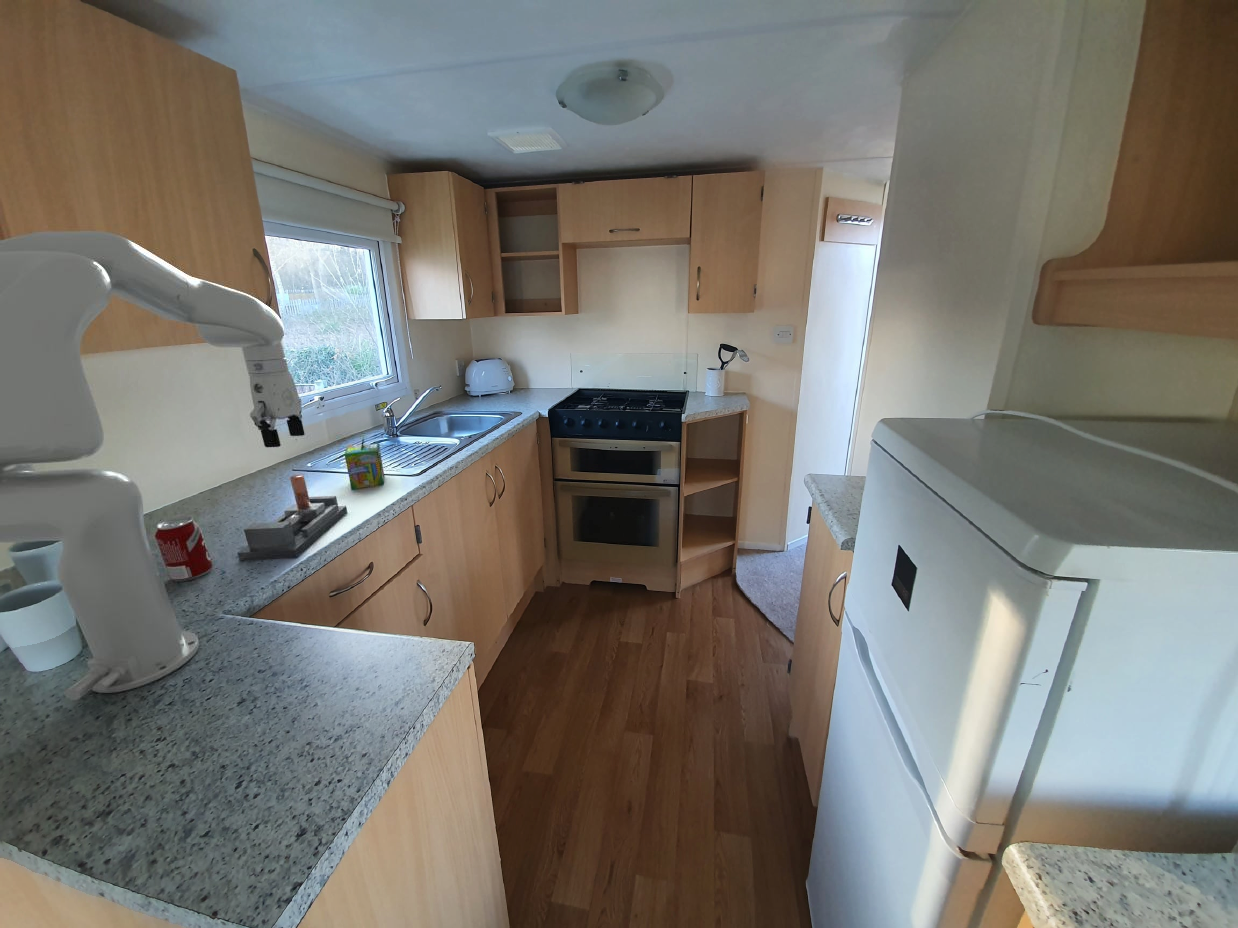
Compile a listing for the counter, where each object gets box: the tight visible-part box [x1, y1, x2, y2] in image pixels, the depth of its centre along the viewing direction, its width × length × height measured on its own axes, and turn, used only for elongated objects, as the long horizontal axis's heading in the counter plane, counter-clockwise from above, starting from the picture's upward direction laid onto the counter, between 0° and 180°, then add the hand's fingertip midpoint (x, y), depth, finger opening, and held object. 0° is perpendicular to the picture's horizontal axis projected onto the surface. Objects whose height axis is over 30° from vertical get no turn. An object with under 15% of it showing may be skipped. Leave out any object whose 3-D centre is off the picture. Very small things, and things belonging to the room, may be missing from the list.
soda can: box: [154, 516, 213, 582], centre depth 98 cm, size 7×7×12 cm
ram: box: [283, 474, 325, 528], centre depth 115 cm, size 10×7×11 cm
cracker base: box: [237, 495, 348, 562], centre depth 115 cm, size 24×12×7 cm, turn 4°
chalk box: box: [344, 435, 385, 490], centre depth 147 cm, size 9×9×15 cm
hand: (285, 441), depth 113 cm, fingers open, 9 cm apart
